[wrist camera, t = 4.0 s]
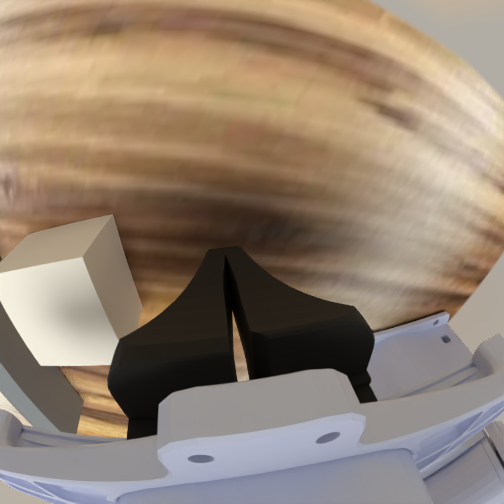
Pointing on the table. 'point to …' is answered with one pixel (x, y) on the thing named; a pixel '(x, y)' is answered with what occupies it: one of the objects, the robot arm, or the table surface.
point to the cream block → (71, 293)
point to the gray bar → (35, 384)
